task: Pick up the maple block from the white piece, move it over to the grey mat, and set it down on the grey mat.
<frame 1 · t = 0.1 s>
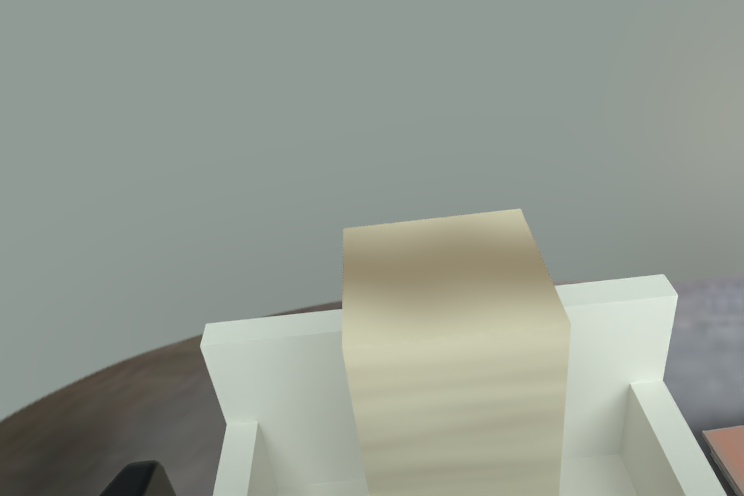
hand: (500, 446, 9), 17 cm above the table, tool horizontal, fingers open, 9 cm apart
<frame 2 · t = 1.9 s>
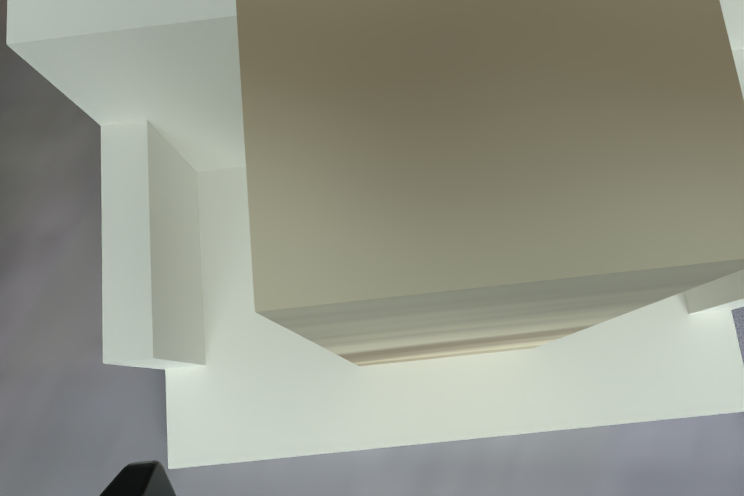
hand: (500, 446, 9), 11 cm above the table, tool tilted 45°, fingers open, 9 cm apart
white piece: (434, 278, 20), on the table
maple block: (435, 272, 19), point 1 cm above the table, touching white piece
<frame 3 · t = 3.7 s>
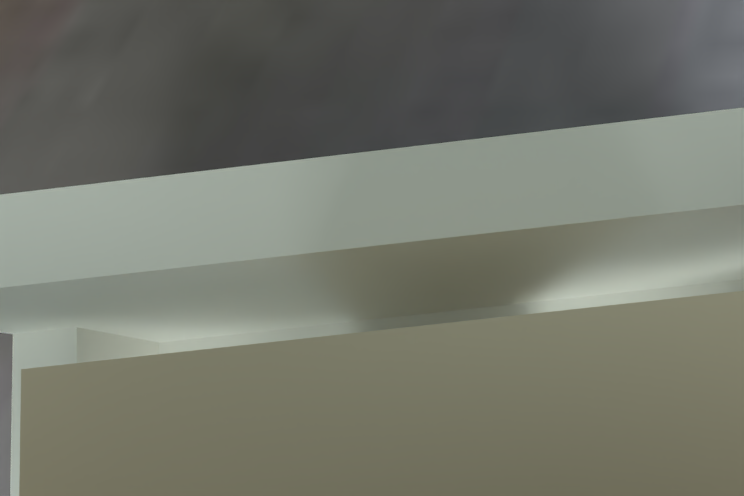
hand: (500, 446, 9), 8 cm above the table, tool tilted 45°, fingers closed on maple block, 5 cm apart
white piece: (466, 481, 16), on the table
maple block: (470, 488, 15), point 1 cm above the table, touching white piece, gripper
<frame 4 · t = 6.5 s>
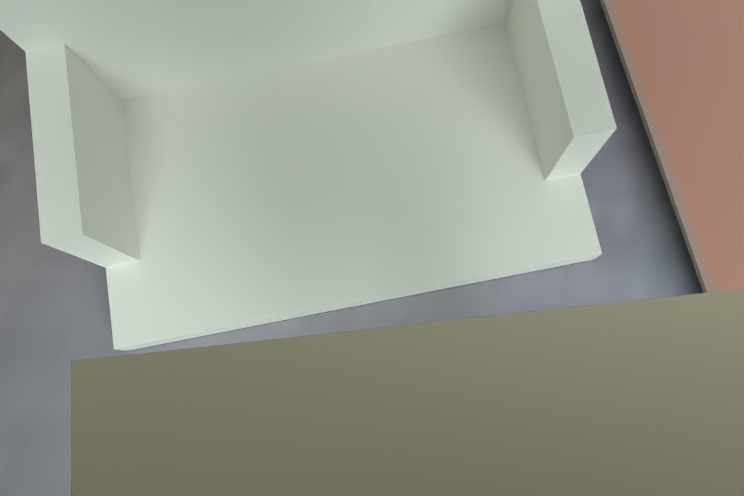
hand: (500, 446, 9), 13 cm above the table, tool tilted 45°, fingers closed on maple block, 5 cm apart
white piece: (334, 174, 24), on the table
maple block: (469, 485, 15), point 7 cm above the table, touching gripper
when the fingers open (9 cm above the table, at t = 9.5 s): maple block drops 2 cm, resting on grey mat.
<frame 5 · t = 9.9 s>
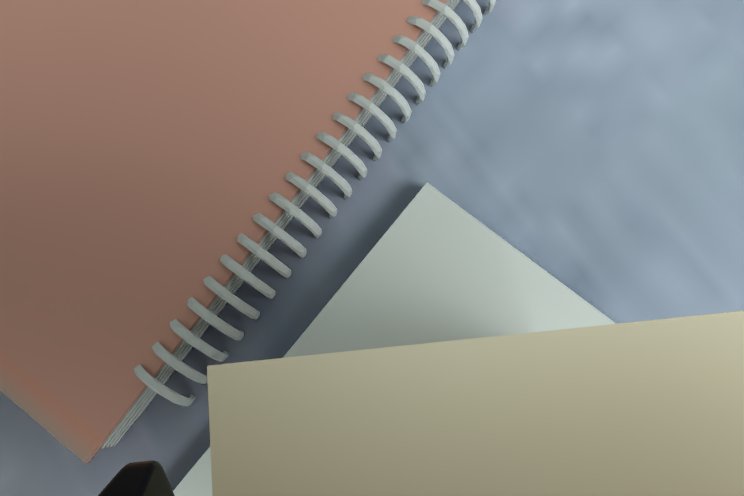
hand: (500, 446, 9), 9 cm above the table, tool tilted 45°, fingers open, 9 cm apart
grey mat: (462, 471, 17), on the table
maple block: (463, 471, 17), resting on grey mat
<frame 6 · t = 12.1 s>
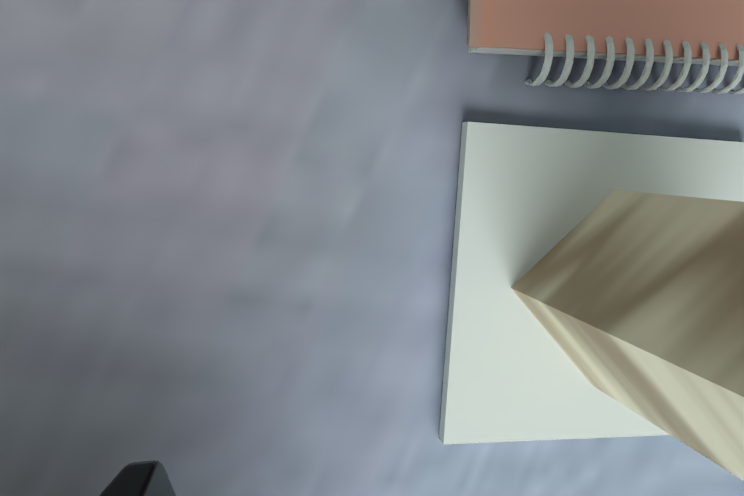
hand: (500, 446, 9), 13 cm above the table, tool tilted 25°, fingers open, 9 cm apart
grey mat: (594, 287, 24), on the table
maple block: (603, 289, 23), resting on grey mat
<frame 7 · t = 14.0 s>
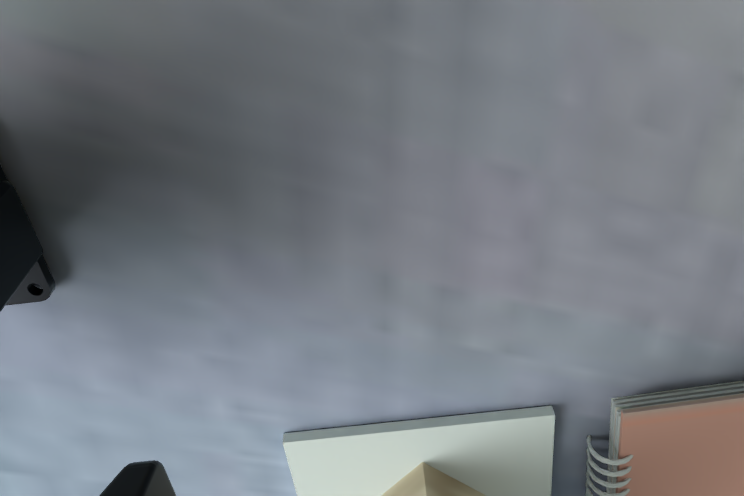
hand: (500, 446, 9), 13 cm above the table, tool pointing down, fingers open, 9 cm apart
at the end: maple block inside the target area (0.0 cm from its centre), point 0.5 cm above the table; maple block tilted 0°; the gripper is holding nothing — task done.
